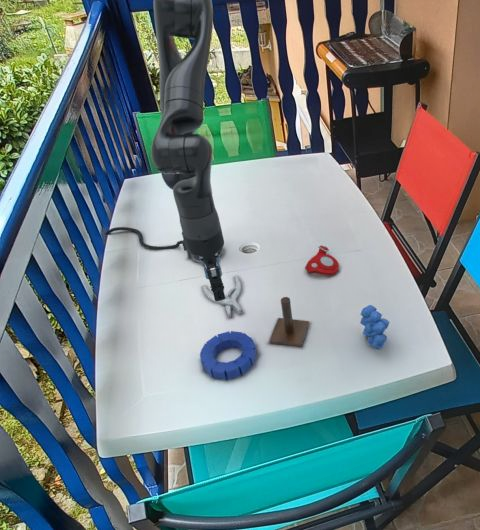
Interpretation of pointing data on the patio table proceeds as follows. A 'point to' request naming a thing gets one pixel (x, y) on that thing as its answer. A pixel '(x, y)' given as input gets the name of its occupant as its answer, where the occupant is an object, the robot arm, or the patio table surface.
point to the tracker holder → (322, 263)
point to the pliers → (229, 302)
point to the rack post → (288, 327)
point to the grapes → (374, 326)
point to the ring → (233, 367)
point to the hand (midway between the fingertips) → (217, 287)
